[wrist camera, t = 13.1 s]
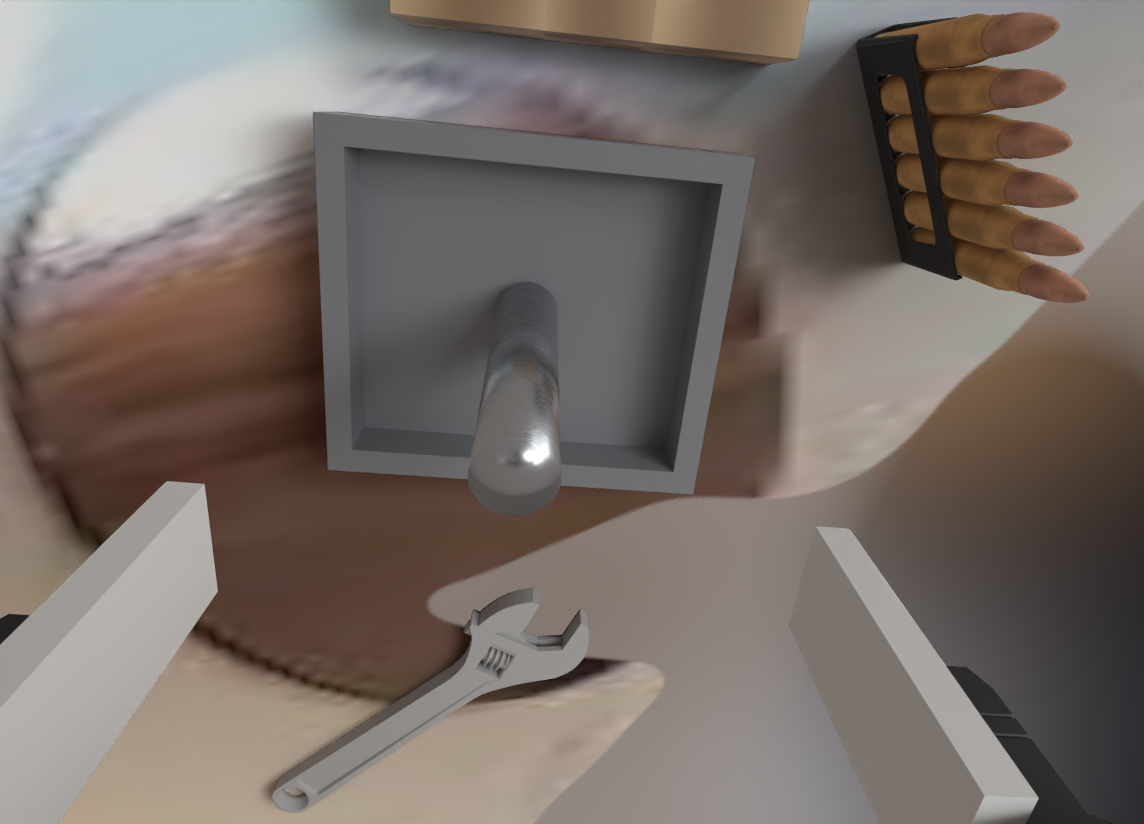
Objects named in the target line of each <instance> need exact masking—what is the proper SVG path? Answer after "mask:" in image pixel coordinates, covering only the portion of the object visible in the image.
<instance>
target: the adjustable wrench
mask: <svg viewBox="0 0 1144 824" xmlns="http://www.w3.org/2000/svg"><path fill="white" fill-rule="evenodd" d="M539 606H540V590H537V589H535V588H525V589H520V590H516V591H513V592H510V593H507V594H505V595H503V596H501V597H499V598H497V599H496V600H494V601H492V602H491V603H489V604H488V605H487V606H486V607H484V608H483V609H482V610H481V611H478V610H475V609H473V612H472V616H471V620H469V621H468V622H467V624H466V626H465V629H464V633H466V634H468V635H470V636H472V637H471V641H470V644H469V647H468V648H467V650H466V652H465V653H464V655H463V656H462V657H461V658H460V659H459V660H458V661H457V662H456V663H454V664H453V665H452V666H451V667H449V668H448V669H446V670H444V671H443V672H441V673H440V674H438V675H437V676H435V677H434V678H432V679H431V680H429V681H427V682H426V683H424V684H423V685H421V686H420V687H418V688H417V689H415V690H414V691H412V692H410V693H409V694H407V695H406V696H404V697H403V698H401V699H400V700H398V701H397V702H395V703H393V704H392V705H390V706H389V707H387V708H386V709H384V710H383V711H381V712H380V713H378V714H376V715H375V716H373V717H372V718H370V719H369V720H367V721H366V722H364V723H363V724H361V725H359V726H358V727H356V728H355V729H353V730H352V731H350V732H349V733H347V734H346V735H344V736H342V737H341V738H339V739H338V740H336V741H335V742H333V743H332V744H330V745H329V746H327V747H325V748H324V749H322V750H321V751H319V752H318V753H316V754H315V755H313V756H312V757H310V758H308V759H307V760H305V761H304V762H302V763H301V764H299V765H298V766H296V767H295V768H293V769H291V770H290V771H288V772H287V773H285V774H284V775H282V776H281V777H280V778H279V780H278V782H277V785H276V788H275V790H274V793H273V795H272V801H273V803H274V804H275V805H276V806H277V807H278V808H279V809H281V810H283V811H286V812H291V813H297V812H302V811H304V810H307V809H308V808H310V807H311V806H313V805H314V804H316V803H317V802H319V801H320V800H322V799H323V798H325V797H326V796H328V795H329V794H331V793H332V792H334V791H335V790H337V789H338V788H340V787H341V786H343V785H344V784H346V783H347V782H349V781H350V780H352V779H353V778H355V777H356V776H358V775H359V774H361V773H362V772H364V771H365V770H367V769H368V768H370V767H371V766H373V765H374V764H376V763H377V762H379V761H380V760H382V759H383V758H385V757H386V756H388V755H389V754H391V753H392V752H394V751H395V750H397V749H398V748H400V747H401V746H403V745H404V744H406V743H407V742H409V741H410V740H412V739H413V738H415V737H416V736H418V735H419V734H421V733H423V732H424V731H426V730H427V729H429V728H430V727H432V726H433V725H435V724H436V723H438V722H439V721H441V720H442V719H444V718H445V717H447V716H448V715H450V714H451V713H453V712H454V711H456V710H457V709H459V708H460V707H462V706H463V705H465V704H466V703H468V702H469V701H471V700H472V699H474V698H476V697H478V696H480V695H482V694H484V693H487V692H490V691H493V690H497V689H500V688H504V687H508V686H512V685H517V684H521V683H527V682H533V681H539V680H546V679H552V678H556V677H559V676H561V675H564V674H566V673H568V672H569V671H571V670H573V669H574V668H575V667H576V666H577V665H578V664H579V663H580V662H581V661H582V660H583V658H584V656H585V654H586V652H587V648H588V644H589V629H588V621H587V615H586V613H585V612H584V611H583V610H582V609H579V611H578V612H577V614H576V615H575V616H574V618H573V619H572V621H571V622H570V624H569V625H568V627H567V628H566V629H565V631H564V632H563V634H562V635H543V636H537V635H535V634H533V633H531V632H528V631H526V630H524V629H525V627H526V626H527V624H528V623H529V621H530V620H531V618H532V616H533V615H534V614H535V612H536V610H537V609H538V607H539ZM284 788H296V789H299V790H301V791H303V792H304V793H305V795H300V796H297V795H292V794H290V793H288V792H286V791H285V790H284Z"/></svg>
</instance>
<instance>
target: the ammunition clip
mask: <svg viewBox="0 0 1144 824" xmlns="http://www.w3.org/2000/svg"><path fill="white" fill-rule="evenodd" d="M1059 28H1060V24H1059V22H1058V21H1057V20H1056V19H1054V18H1053V17H1051V16H1047V15H1044V14H1038V13H1013V14H1007V15H1005V14H1001V15H993V16H990V15H984V14H974V15H969V16H964V17H960V18H957V17H954V18H946V19H938V20H930V21H921V22H913V23H905V24H896V25H893V26H891V27H888V28H886V29H884V30H881V31H879V32H877V33H874V34H872V35H870V36H867V37H865V38H863V39H861V40H858V42H857V45H856V49H857V53H858V58H859V63H860V67H861V72H862V77H863V81H864V86H865V91H866V95H867V100H868V105H869V109H870V114H871V119H872V123H873V128H874V133H875V137H876V142H877V147H878V151H879V156H880V161H881V165H882V170H883V175H884V179H885V184H886V189H887V193H888V198H889V203H890V207H891V212H892V217H893V221H894V226H895V231H896V235H897V240H898V245H899V249H900V254H901V259H902V262H904V263H906V264H909V265H912V266H915V267H918V268H921V269H924V270H927V271H930V272H932V273H935V274H938V275H941V276H944V277H947V278H950V279H953V280H959V279H961V278H962V276H965V277H967V278H970V279H972V280H975V281H977V282H980V283H983V284H985V285H988V286H990V287H993V288H996V289H999V290H1006V291H1015V292H1018V293H1022V294H1025V295H1030V296H1033V297H1036V298H1039V299H1043V300H1048V301H1054V302H1063V303H1075V302H1081V301H1085V300H1087V299H1088V298H1089V293H1088V292H1087V290H1086V288H1085V287H1084V286H1083V285H1082V284H1081V283H1080V282H1078V281H1077V280H1076V279H1074V278H1073V277H1071V276H1070V275H1068V274H1066V273H1064V272H1062V271H1060V270H1058V269H1056V268H1053V267H1050V266H1047V265H1045V264H1043V263H1041V262H1039V261H1036V260H1034V259H1032V258H1030V257H1029V256H1027V255H1026V254H1024V253H1023V252H1028V253H1032V254H1038V255H1046V256H1067V255H1072V254H1076V253H1079V252H1081V251H1083V249H1084V245H1083V243H1082V242H1081V240H1080V239H1079V238H1078V237H1077V236H1075V235H1074V234H1073V233H1071V232H1070V231H1068V230H1066V229H1065V228H1063V227H1061V226H1058V225H1056V224H1054V223H1051V222H1048V221H1044V220H1040V219H1038V218H1036V217H1032V216H1029V215H1025V214H1023V213H1022V212H1020V211H1019V210H1017V209H1015V208H1013V207H1009V206H1004V205H1003V204H1007V205H1014V206H1026V207H1034V208H1048V207H1056V206H1061V205H1066V204H1069V203H1071V202H1073V201H1075V200H1076V199H1077V198H1078V193H1077V191H1076V190H1075V189H1074V188H1073V187H1072V186H1071V185H1069V184H1068V183H1066V182H1064V181H1063V180H1061V179H1059V178H1057V177H1054V176H1051V175H1048V174H1044V173H1039V172H1032V171H1031V170H1026V169H1021V168H1017V167H1016V166H1014V165H1012V164H1010V163H1008V162H1002V161H995V160H993V159H998V158H1000V159H1012V158H1019V159H1031V158H1041V157H1046V156H1050V155H1054V154H1057V153H1060V152H1062V151H1064V150H1066V149H1068V148H1069V147H1070V146H1071V145H1072V143H1073V141H1072V139H1071V138H1070V136H1069V135H1067V134H1066V133H1065V132H1063V131H1061V130H1059V129H1057V128H1055V127H1052V126H1049V125H1045V124H1040V123H1034V122H1024V121H1018V120H1010V119H1008V118H1005V117H1003V116H998V115H992V114H982V113H986V112H989V111H992V110H999V109H1006V108H1019V107H1025V106H1030V105H1035V104H1039V103H1042V102H1045V101H1047V100H1050V99H1052V98H1054V97H1056V96H1057V95H1059V94H1060V93H1062V92H1063V91H1064V90H1065V89H1066V83H1065V81H1064V80H1063V79H1061V78H1060V77H1058V76H1056V75H1054V74H1051V73H1048V72H1044V71H1039V70H1031V69H1016V70H1015V69H1000V68H997V67H992V66H973V67H965V66H968V65H973V64H977V63H980V62H982V61H984V60H986V59H988V58H993V57H997V56H1002V55H1005V54H1011V53H1015V52H1019V51H1023V50H1026V49H1029V48H1031V47H1034V46H1036V45H1038V44H1040V43H1042V42H1043V41H1045V40H1047V39H1048V38H1050V37H1051V36H1053V35H1054V34H1055V33H1056V32H1057V31H1058V29H1059ZM943 68H948V69H943ZM935 69H939V70H935ZM926 70H927V71H926ZM1021 251H1023V252H1021ZM957 274H959V275H957ZM961 275H962V276H961Z"/></svg>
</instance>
